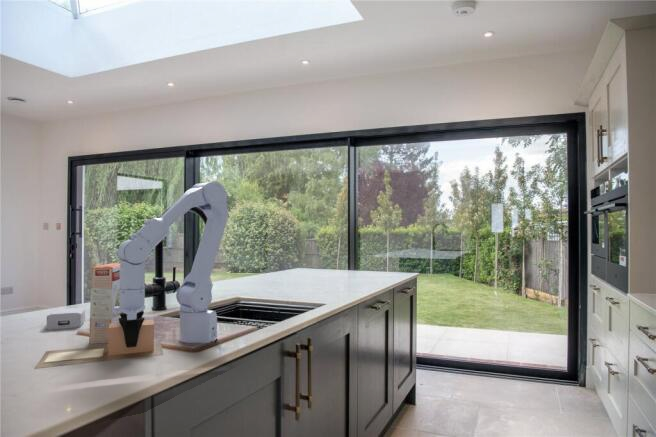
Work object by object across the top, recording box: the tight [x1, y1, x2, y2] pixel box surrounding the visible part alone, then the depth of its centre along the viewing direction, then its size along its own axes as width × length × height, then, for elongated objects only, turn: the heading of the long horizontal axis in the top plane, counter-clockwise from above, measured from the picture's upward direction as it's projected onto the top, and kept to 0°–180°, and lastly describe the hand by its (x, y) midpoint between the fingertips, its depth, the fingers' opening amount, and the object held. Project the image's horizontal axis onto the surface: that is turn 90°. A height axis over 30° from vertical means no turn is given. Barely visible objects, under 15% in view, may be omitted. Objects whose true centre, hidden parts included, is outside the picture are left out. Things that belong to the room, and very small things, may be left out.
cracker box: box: [88, 262, 122, 344], centre depth 121 cm, size 14×6×21 cm, turn 7°
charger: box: [45, 307, 86, 330], centre depth 142 cm, size 5×9×15 cm
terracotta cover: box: [107, 319, 155, 356], centre depth 108 cm, size 10×6×6 cm, turn 114°
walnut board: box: [33, 340, 164, 369], centre depth 105 cm, size 26×14×1 cm, turn 114°
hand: (131, 343), depth 108 cm, fingers closed on terracotta cover, 6 cm apart
